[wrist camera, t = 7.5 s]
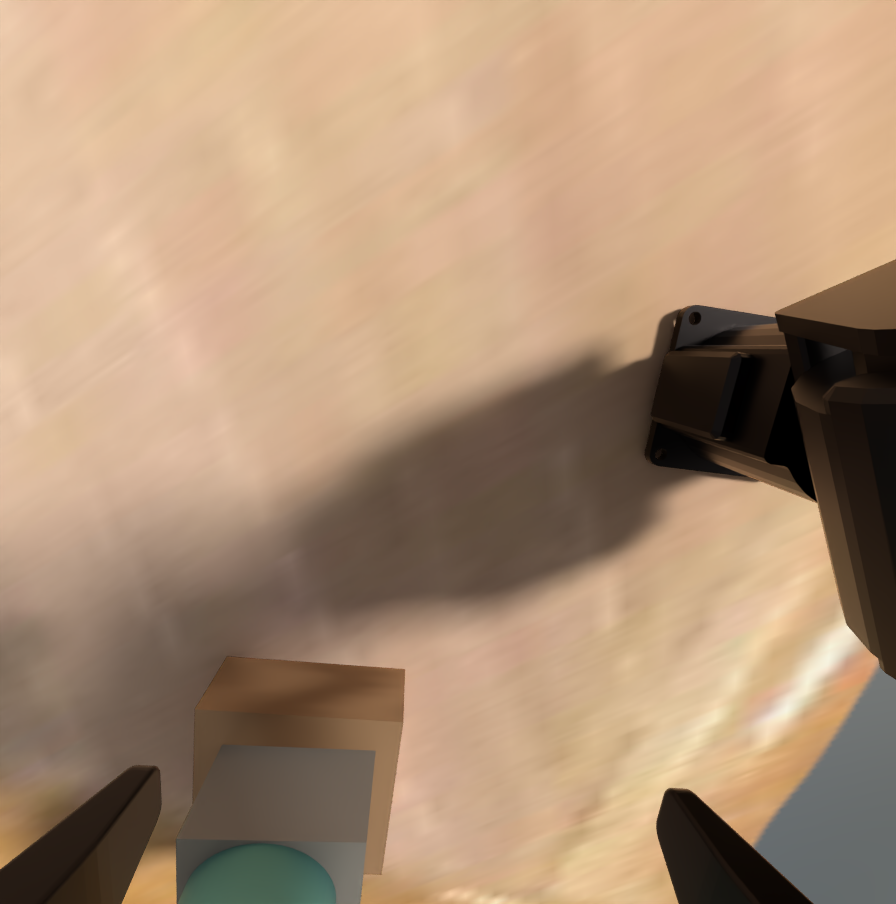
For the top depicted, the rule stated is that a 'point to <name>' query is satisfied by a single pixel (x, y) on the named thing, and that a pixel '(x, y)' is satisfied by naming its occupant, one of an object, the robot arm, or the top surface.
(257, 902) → the teal bullet block
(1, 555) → the top surface
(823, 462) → the robot arm
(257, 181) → the top surface
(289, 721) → the walnut base block
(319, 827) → the grey square block
